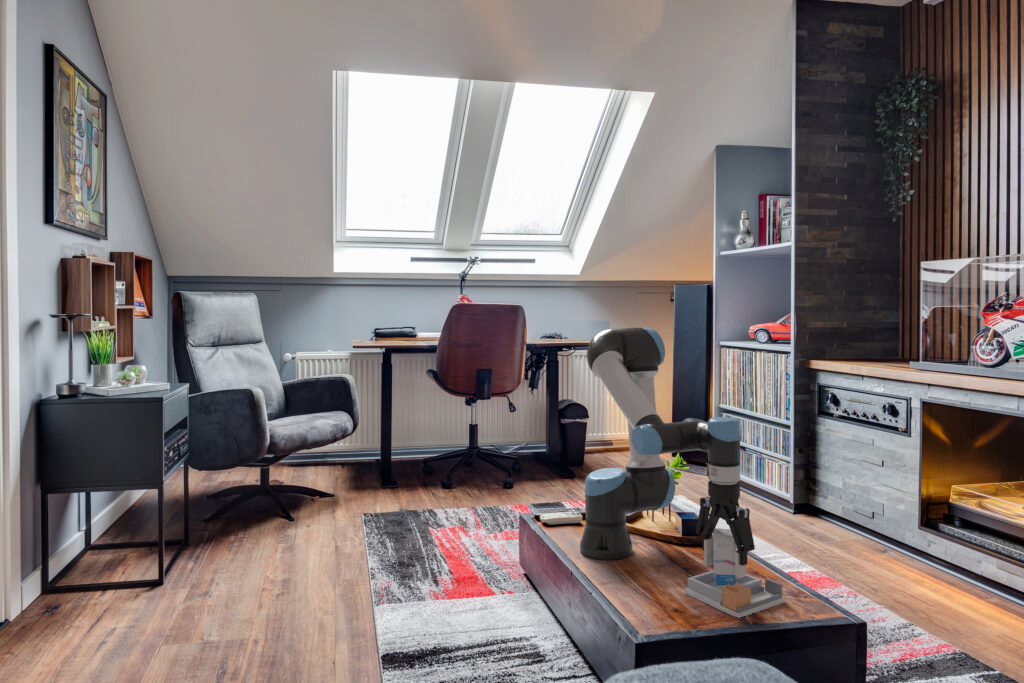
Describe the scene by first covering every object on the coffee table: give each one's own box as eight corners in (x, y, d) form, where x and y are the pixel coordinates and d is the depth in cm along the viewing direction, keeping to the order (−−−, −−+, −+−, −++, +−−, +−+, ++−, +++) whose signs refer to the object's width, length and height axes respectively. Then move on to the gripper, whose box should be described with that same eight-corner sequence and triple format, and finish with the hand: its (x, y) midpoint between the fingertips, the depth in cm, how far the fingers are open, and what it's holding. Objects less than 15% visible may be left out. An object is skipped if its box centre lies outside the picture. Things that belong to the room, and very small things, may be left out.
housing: (684, 593, 178) (684, 577, 178) (729, 579, 187) (729, 563, 187) (739, 618, 164) (739, 600, 164) (784, 602, 172) (784, 584, 172)
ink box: (737, 586, 173) (735, 537, 173) (715, 585, 174) (714, 537, 174) (734, 574, 181) (732, 527, 181) (713, 573, 182) (711, 527, 182)
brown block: (722, 604, 168) (722, 584, 168) (737, 599, 171) (737, 580, 170) (735, 611, 165) (735, 590, 164) (750, 605, 167) (750, 585, 167)
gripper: (680, 474, 184) (681, 560, 185) (749, 493, 165) (749, 588, 166) (701, 470, 188) (701, 554, 189) (771, 488, 169) (771, 581, 170)
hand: (724, 570), depth 178 cm, fingers closed on ink box, 9 cm apart
